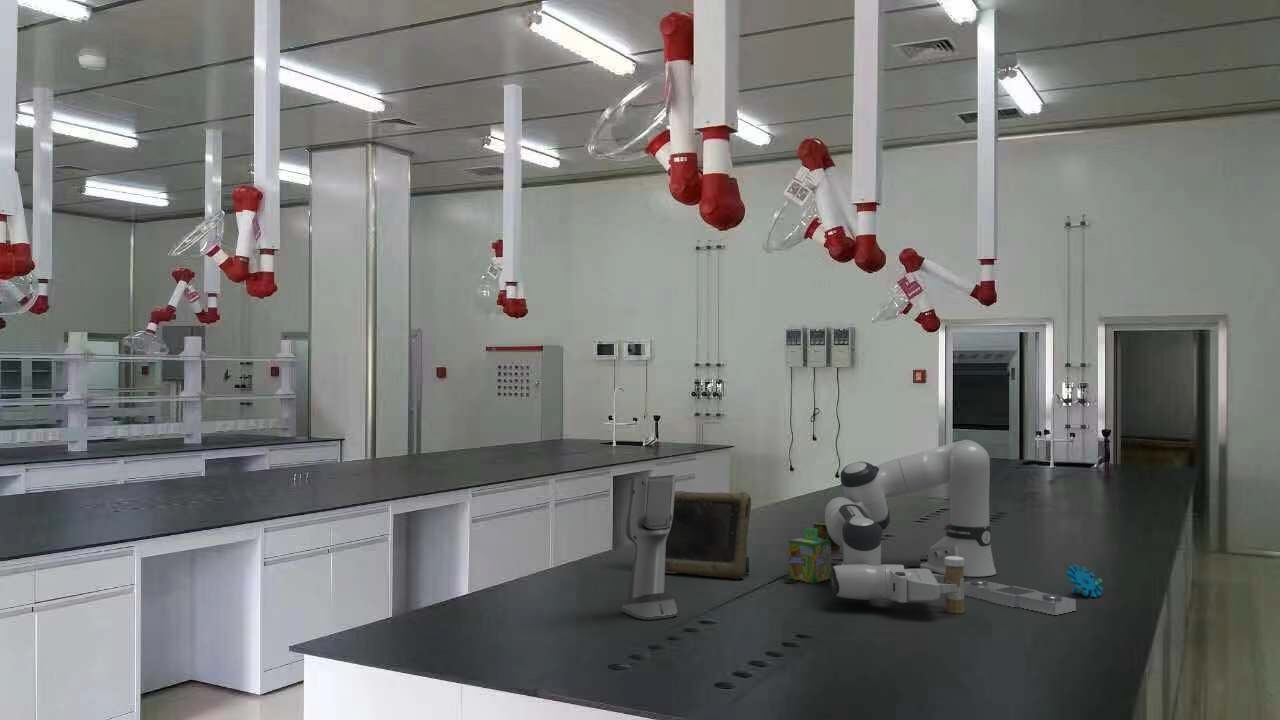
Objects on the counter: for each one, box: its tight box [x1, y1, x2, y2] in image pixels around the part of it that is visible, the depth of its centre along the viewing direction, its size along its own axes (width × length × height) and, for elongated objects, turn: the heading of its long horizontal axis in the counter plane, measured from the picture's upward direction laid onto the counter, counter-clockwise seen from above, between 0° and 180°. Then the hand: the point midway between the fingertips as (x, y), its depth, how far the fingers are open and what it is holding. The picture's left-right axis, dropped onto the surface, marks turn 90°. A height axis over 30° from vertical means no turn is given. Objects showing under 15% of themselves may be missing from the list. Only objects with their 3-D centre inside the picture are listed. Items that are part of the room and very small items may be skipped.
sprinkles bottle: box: [945, 556, 965, 614], centre depth 242 cm, size 5×5×13 cm
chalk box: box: [788, 527, 832, 584], centre depth 283 cm, size 9×9×15 cm
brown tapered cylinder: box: [812, 520, 841, 554], centre depth 325 cm, size 13×10×10 cm
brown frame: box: [665, 490, 752, 579], centre depth 295 cm, size 33×14×25 cm, turn 68°
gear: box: [1065, 564, 1104, 598], centre depth 259 cm, size 11×6×10 cm
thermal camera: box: [621, 474, 678, 617], centre depth 245 cm, size 12×13×35 cm
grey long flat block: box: [964, 579, 1077, 616], centre depth 251 cm, size 29×10×4 cm, turn 32°
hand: (954, 583), depth 242 cm, fingers open, 8 cm apart
